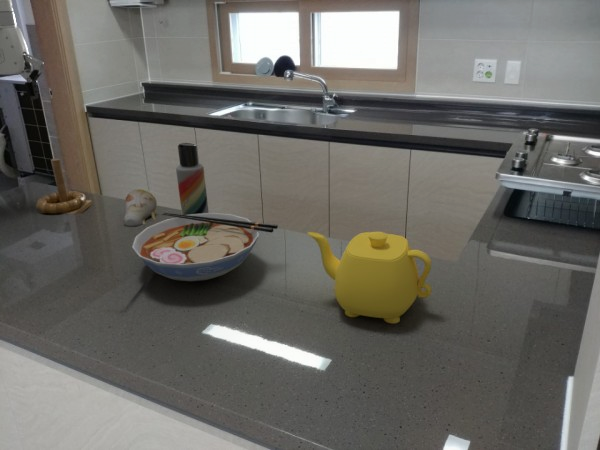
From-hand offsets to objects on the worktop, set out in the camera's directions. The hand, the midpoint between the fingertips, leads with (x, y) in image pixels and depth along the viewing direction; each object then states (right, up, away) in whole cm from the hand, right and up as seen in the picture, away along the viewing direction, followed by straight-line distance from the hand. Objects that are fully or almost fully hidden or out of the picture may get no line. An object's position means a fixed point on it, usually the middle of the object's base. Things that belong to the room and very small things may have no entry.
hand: (14, 99), depth 125 cm
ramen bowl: (+48, -38, -25) cm, 66 cm away
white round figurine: (+30, -29, -1) cm, 42 cm away
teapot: (+78, -43, -37) cm, 96 cm away
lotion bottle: (+44, -31, -8) cm, 55 cm away
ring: (+8, -24, +7) cm, 26 cm away
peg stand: (+9, -26, +8) cm, 28 cm away
